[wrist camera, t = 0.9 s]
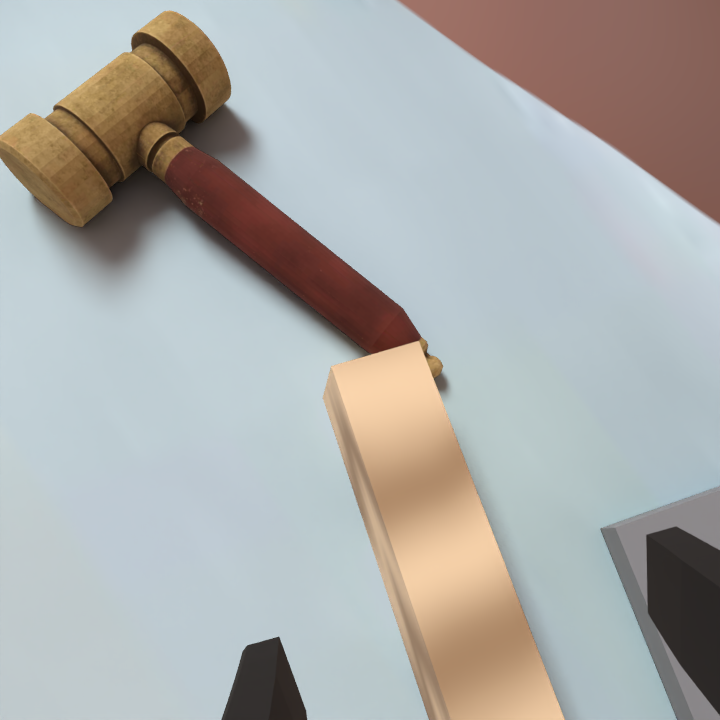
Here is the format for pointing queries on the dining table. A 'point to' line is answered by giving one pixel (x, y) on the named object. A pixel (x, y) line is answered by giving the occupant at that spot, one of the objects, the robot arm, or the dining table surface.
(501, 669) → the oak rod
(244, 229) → the gavel
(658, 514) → the fulcrum stand
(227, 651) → the dining table surface
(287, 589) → the dining table surface
